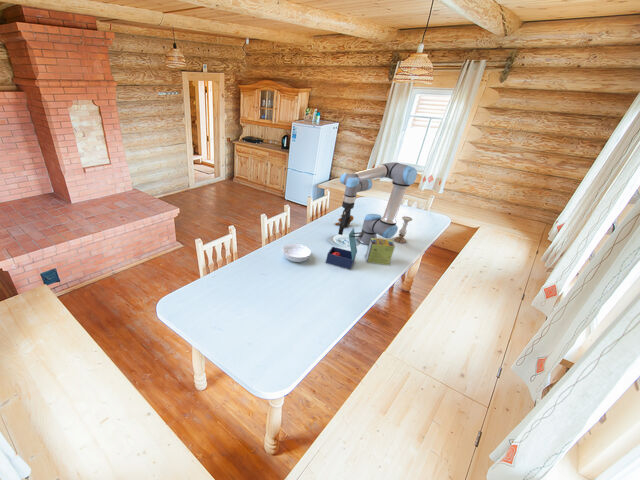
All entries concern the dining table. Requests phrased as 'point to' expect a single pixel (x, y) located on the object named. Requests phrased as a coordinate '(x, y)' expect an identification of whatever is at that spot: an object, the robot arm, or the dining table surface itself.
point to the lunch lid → (354, 242)
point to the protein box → (380, 251)
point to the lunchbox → (340, 258)
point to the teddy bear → (348, 221)
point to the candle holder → (403, 230)
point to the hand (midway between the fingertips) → (342, 230)
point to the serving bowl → (296, 252)
